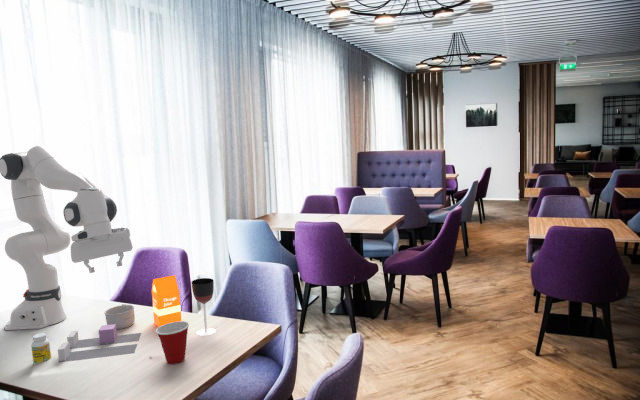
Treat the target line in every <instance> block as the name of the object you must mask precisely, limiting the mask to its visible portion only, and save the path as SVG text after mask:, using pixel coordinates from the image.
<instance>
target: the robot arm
mask: <svg viewBox="0 0 640 400" xmlns="http://www.w3.org/2000/svg"><path fill="white" fill-rule="evenodd" d="M0 175H1V177H2V178H4V179H6V180H9V181H10V188H11V189H10V190H11V196H12V202H13V206H14V209H15V213H16V217H17V219H18V220H19V221H20V222H23V223H26V224H28V225H29V226H31V228H32V230H31V231H26V232H21V233H18V234H15V235H13V236H10V237H8V238H7V239H6V242H5V244H4V251H5V254H6V255H7V256H8V258H10V259H11V260H12V261H15V262H16V263H18V264H19V265H20V266H21V267H22V268H23V270H24V272H25V276H26V281H27V286H28V288H27V289H26V290H25V292H24V294H22V297H23V298H24V300H23V301H22V302H21V303H19V304H18V305H17V306H16V307H15V308H14V309H13V310H12V312H11V314H10V318H9V319H10V320H9V321H8V322H6V323H5V325H4V330H5V331H16V330H17V331H18V330H35V329H43V328H46V327H49V326H51V325H52V326H53V325H54V324H57V323H58V324H59V323H60V322H62V321H65V320H66V318H67V315H66V313H65V310H64V308H63V304H62V290H61V286H60V284H59V277H58V276H59V275H58V269H57V268H56V267H55V266H54V265H52V264H49V263H46V262H45V260H44V256H48V255H52V254H56V253H59V252H61V251H64V250H65V249H66V250H67V248H69V246H70V258H71V261H72V262H73V263H74V264H76V263H80V262H83V264H84V266H85V267H87V269H88V271H89V274H93V273H95V267H94V266H93V267H92V266H90V260H94V259H100V258H104V257H109V256H113V255H118V257H119V259H118V261H116V266H117V267H121V266H123V262H122V261H123V259H124V255H125V254H124V253H127V252H131V251H132V250H133V244H132V240H131V238H130V237H131V233H130V230H129V229H128V228H127V227H125V226H119V227H115V228H112V225H111V222H112V221H113V220H114V219H115V217H116V215H117V212H118V208H117V204H116V203H115V201H114V200H113V199H112V198H111V197H109V196H107V195H105V194H104V193H103V190H102V189H101V188H99V187H97V186H95V185H94V183H92V182H91V181H90V180H89V179H88V178H87V177H86V176H84V175H83V174H81V173H80V172H78V171H76V170H73V169H72V168H70V167H69V166H68V165H67V164H66V163H64V162H63V161H62V159H61V158H60V157H59V156H58V155H57V153H56V152H54V150H51V148H50V147H47V146H46V145H35V146H33V147H31V148H30V149H28V151H22V152H21V151H20V152H15V153H12V152H11V153H6V154H3V155H2V156H1V157H0ZM42 186H43V187H45V188H47V189H51V190H55V191H57V190H58V191H59V190H60V191H61V190H62V191H70V192H75V193H77V194H76V197H75V198H73V199H72V201H69V202H68V203H67V204H65V207H64V208H63V216H64V217H63V218H64V220H65V222H66V223H67V224H68V225H69V226H71V227H77V228H78V227H83V230H80V231H78V232H76V233H75V234H72V236H71V235H70V233H69V232H68V230H66V228H63V227H61V226H60V225H59V224H57V223H56V222H55V220H53V218H52V217H51V215H50V214H49V210H48V208H47V204H46V200H45V196H44V193H43V189H42ZM71 241H72V243H71ZM70 243H71V244H70Z"/></svg>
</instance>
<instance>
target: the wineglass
mask: <svg viewBox="0 0 640 400" xmlns="http://www.w3.org/2000/svg"><path fill="white" fill-rule="evenodd" d="M214 283H215V282H214V279H213V278H209V277H206V278H205V277H201V278H197V279H193V280H191V290H192V294H193V297H194V299H195V300H196V301H197V302H198V303H200V304H202V307H203V319H204V322H203V323H204V328H202V329H199V330H197V331H196V332H195V333H196V335H197V336H201V337H202V336H204V337H205V336H210V335H211V336H212V335H214V334H215V333H217V330H216V329H215V328H212V327H211V328H210V327H208V325H207V322H208V321H207V312H206V308H207V307H206V304H207V303H209V302H210V301H211V300H212V298H213V295H214V291H215V289H214V287H215V285H214Z"/></svg>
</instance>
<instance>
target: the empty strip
mask: <svg viewBox="0 0 640 400" xmlns="http://www.w3.org/2000/svg"><path fill="white" fill-rule="evenodd" d="M137 346H138V343H134V344H127V345H125V344H124V345H118V346H110V347H102V348H92V349H85V350H77V351H71V349H70V344H69V342H68V341H67V342H62V343H61V345H60V346H59V348H57V354H58V363H66V362H74V361H80V360H81V361H83V360H90V359H97V358H98V359H99V358H105V357H106V358H107V357H113V356H114V357H115V356H119V355H120V356H122V355H129V354H135V352H136V349H137Z"/></svg>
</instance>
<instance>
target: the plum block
mask: <svg viewBox="0 0 640 400" xmlns="http://www.w3.org/2000/svg"><path fill="white" fill-rule="evenodd" d="M117 330H118V329H116V324H113V325H107V324H105V325H101V326H100V327H99V329H98V338H99V339H100V344H103V343H111V342H115V340H116V338H117V336H118V333H117Z"/></svg>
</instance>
